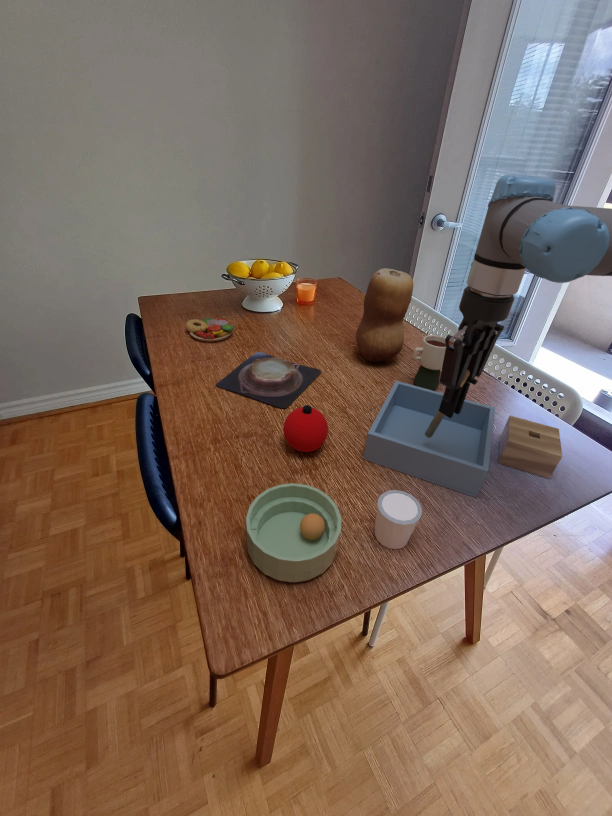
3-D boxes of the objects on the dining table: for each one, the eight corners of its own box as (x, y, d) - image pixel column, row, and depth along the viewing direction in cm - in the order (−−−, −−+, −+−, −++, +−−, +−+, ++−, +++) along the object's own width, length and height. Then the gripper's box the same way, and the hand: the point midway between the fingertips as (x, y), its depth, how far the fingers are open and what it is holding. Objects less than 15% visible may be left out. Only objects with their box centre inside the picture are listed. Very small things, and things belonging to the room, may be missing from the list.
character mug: (438, 378, 108) (451, 334, 101) (450, 392, 102) (465, 347, 95) (400, 379, 106) (411, 334, 99) (410, 394, 101) (422, 348, 93)
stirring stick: (432, 437, 82) (473, 370, 70) (428, 440, 81) (468, 373, 69) (426, 432, 83) (465, 365, 70) (422, 435, 82) (460, 368, 69)
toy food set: (182, 330, 123) (181, 320, 121) (221, 321, 130) (220, 312, 128) (201, 347, 114) (200, 337, 112) (241, 337, 121) (241, 327, 119)
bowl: (315, 601, 55) (319, 577, 52) (229, 560, 60) (227, 535, 56) (349, 526, 66) (354, 502, 63) (274, 496, 70) (274, 472, 67)
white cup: (385, 558, 62) (394, 529, 58) (362, 524, 67) (369, 496, 63) (421, 544, 64) (431, 516, 60) (396, 512, 69) (404, 484, 65)
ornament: (283, 461, 78) (284, 421, 72) (282, 432, 85) (283, 393, 79) (328, 461, 79) (333, 421, 73) (323, 432, 86) (327, 393, 80)
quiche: (258, 352, 114) (258, 339, 112) (322, 371, 107) (323, 358, 105) (213, 385, 98) (212, 371, 96) (284, 411, 92) (285, 396, 89)
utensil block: (549, 479, 78) (562, 456, 75) (497, 463, 81) (508, 440, 78) (547, 450, 86) (559, 428, 82) (500, 436, 89) (509, 415, 85)
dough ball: (313, 508, 61) (333, 525, 61) (308, 507, 65) (326, 523, 65) (297, 529, 60) (316, 547, 60) (292, 527, 64) (311, 543, 64)
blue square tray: (476, 498, 73) (488, 471, 69) (362, 459, 80) (367, 433, 76) (485, 431, 90) (495, 407, 86) (390, 404, 96) (395, 380, 93)
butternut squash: (402, 371, 110) (423, 281, 95) (354, 368, 110) (367, 278, 95) (394, 348, 121) (412, 265, 107) (350, 345, 121) (362, 261, 106)
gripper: (495, 276, 68) (456, 391, 82) (440, 289, 60) (408, 413, 74) (537, 290, 63) (488, 410, 77) (483, 306, 56) (440, 435, 69)
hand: (449, 411), depth 75 cm, fingers closed on stirring stick, 1 cm apart
